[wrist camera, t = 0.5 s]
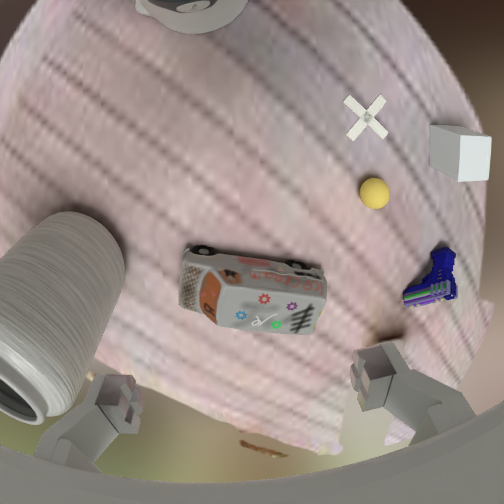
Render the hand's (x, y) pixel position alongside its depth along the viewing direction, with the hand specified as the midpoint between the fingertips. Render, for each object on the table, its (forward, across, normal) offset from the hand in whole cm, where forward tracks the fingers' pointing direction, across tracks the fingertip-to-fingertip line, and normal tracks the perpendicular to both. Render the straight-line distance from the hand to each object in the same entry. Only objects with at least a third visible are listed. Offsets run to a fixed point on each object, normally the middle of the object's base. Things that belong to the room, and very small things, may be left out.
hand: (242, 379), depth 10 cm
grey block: (+37, -37, -4) cm, 53 cm away
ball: (+36, -22, +4) cm, 42 cm away
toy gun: (+41, -36, +23) cm, 60 cm away
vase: (+41, +30, +9) cm, 52 cm away
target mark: (+38, -21, -8) cm, 44 cm away
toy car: (+42, 0, +19) cm, 46 cm away
